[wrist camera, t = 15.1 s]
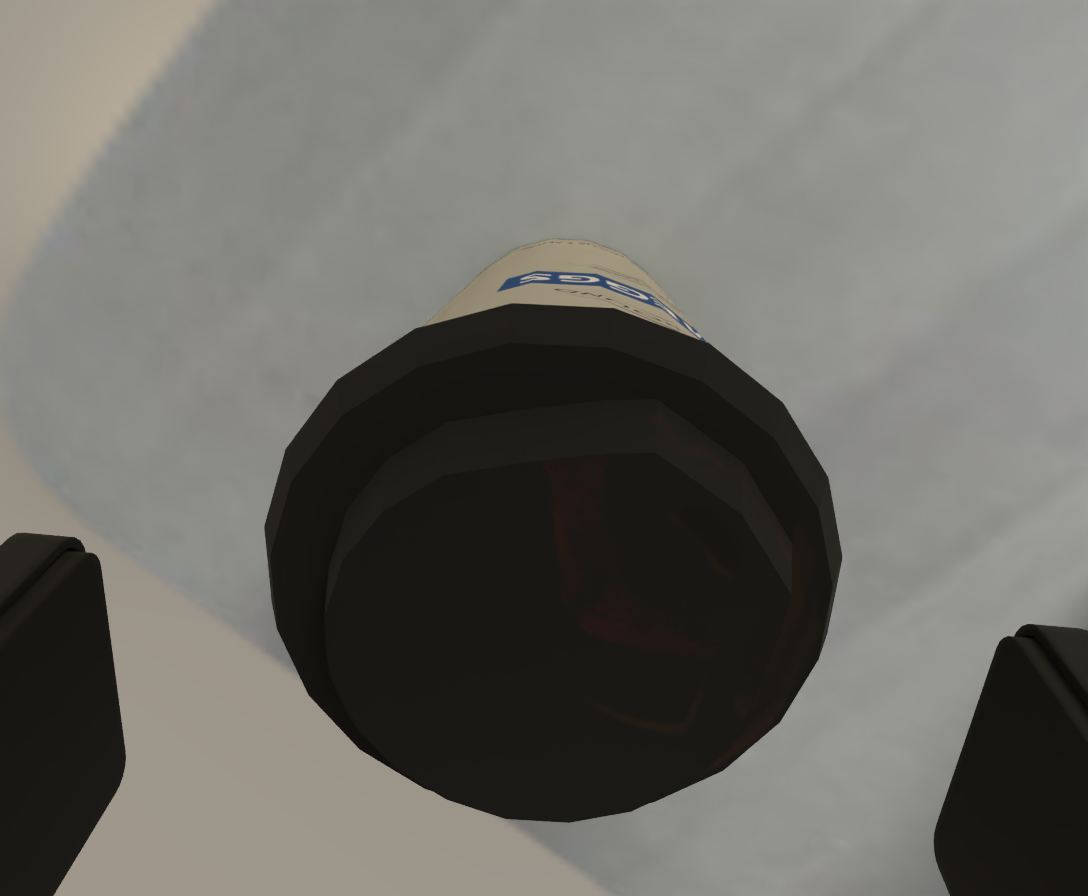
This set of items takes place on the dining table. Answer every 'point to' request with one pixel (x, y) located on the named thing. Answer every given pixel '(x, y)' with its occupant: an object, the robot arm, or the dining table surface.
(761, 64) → the dining table surface
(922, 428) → the dining table surface
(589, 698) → the coffee cup
